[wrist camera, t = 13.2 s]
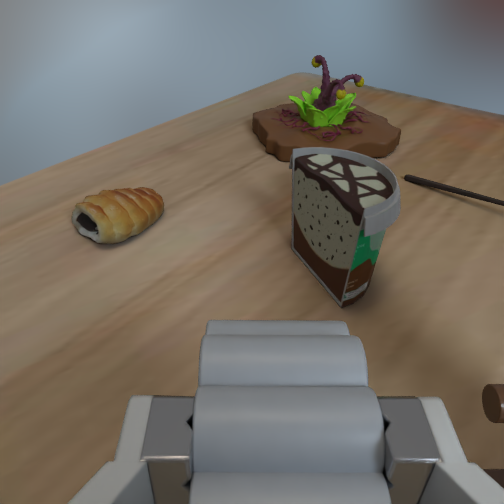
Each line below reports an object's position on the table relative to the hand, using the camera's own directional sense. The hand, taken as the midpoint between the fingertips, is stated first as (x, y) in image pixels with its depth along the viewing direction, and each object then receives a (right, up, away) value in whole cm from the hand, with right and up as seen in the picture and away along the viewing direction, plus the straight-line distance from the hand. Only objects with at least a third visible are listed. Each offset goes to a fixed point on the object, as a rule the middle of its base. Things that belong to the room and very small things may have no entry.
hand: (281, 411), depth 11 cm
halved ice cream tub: (+8, +2, +33) cm, 34 cm away
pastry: (-15, +6, +39) cm, 42 cm away
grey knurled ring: (0, -6, +4) cm, 7 cm away
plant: (+10, +20, +60) cm, 64 cm away
